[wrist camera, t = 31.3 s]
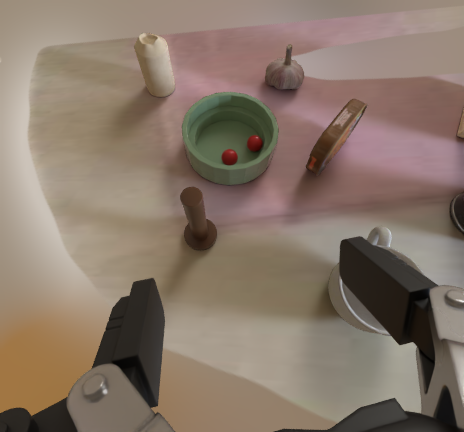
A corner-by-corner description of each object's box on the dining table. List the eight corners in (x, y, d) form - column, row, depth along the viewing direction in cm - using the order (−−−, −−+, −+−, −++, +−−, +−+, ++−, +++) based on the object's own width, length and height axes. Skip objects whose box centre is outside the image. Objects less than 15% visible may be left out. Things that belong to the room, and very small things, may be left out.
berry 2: (262, 143, 48) (267, 139, 45) (255, 156, 47) (259, 152, 45) (250, 134, 47) (254, 129, 44) (242, 147, 47) (246, 143, 44)
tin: (312, 184, 46) (330, 155, 38) (297, 174, 46) (312, 144, 38) (353, 130, 50) (378, 95, 42) (339, 122, 51) (360, 86, 43)
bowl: (248, 104, 52) (250, 81, 47) (288, 166, 47) (296, 147, 42) (173, 131, 49) (167, 109, 44) (207, 200, 44) (205, 184, 39)
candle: (179, 80, 53) (169, 30, 44) (169, 100, 51) (158, 51, 42) (153, 74, 54) (139, 23, 45) (143, 94, 52) (126, 44, 43)
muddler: (207, 215, 43) (201, 169, 30) (222, 241, 41) (222, 204, 28) (179, 229, 42) (160, 188, 29) (194, 256, 40) (180, 225, 27)
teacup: (382, 347, 36) (423, 353, 29) (309, 311, 38) (330, 309, 30) (402, 257, 41) (442, 244, 34) (336, 229, 43) (361, 209, 35)
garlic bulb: (257, 85, 54) (263, 47, 46) (276, 65, 56) (284, 26, 49) (289, 102, 52) (300, 66, 45) (307, 81, 55) (320, 43, 47)
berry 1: (237, 168, 46) (238, 152, 46) (237, 163, 43) (237, 146, 43) (221, 167, 46) (222, 152, 46) (220, 162, 43) (220, 146, 44)
